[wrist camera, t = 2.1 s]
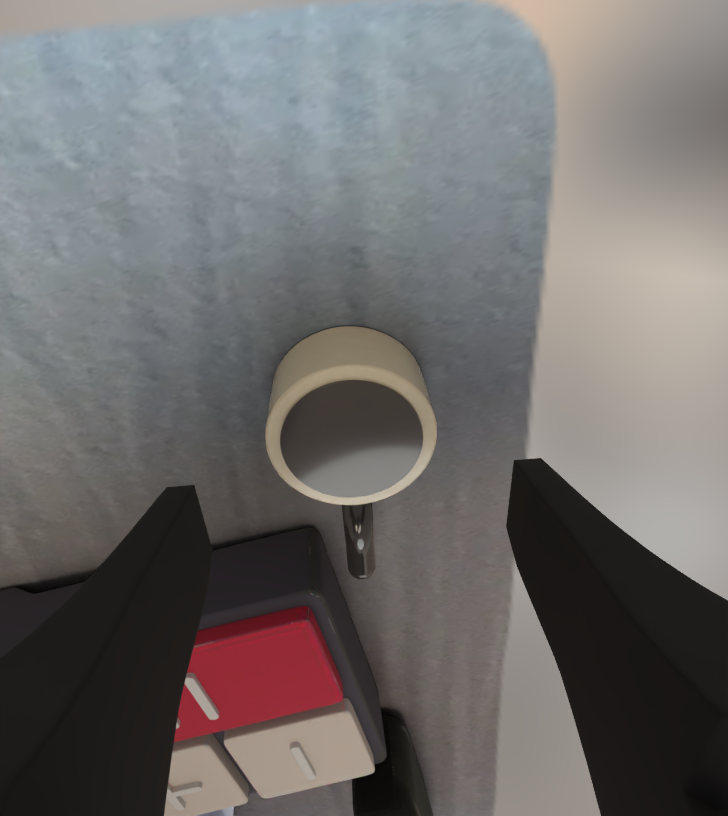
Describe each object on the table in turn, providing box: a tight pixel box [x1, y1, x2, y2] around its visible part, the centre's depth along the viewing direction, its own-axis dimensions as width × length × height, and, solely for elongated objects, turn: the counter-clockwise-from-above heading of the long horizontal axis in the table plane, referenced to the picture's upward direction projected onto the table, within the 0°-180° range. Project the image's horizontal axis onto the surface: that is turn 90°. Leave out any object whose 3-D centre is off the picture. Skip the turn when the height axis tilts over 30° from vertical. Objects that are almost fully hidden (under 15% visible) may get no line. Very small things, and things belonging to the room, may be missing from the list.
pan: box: [265, 326, 437, 579], centre depth 17 cm, size 8×5×2 cm, turn 3°
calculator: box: [0, 528, 387, 816], centre depth 22 cm, size 11×4×15 cm
